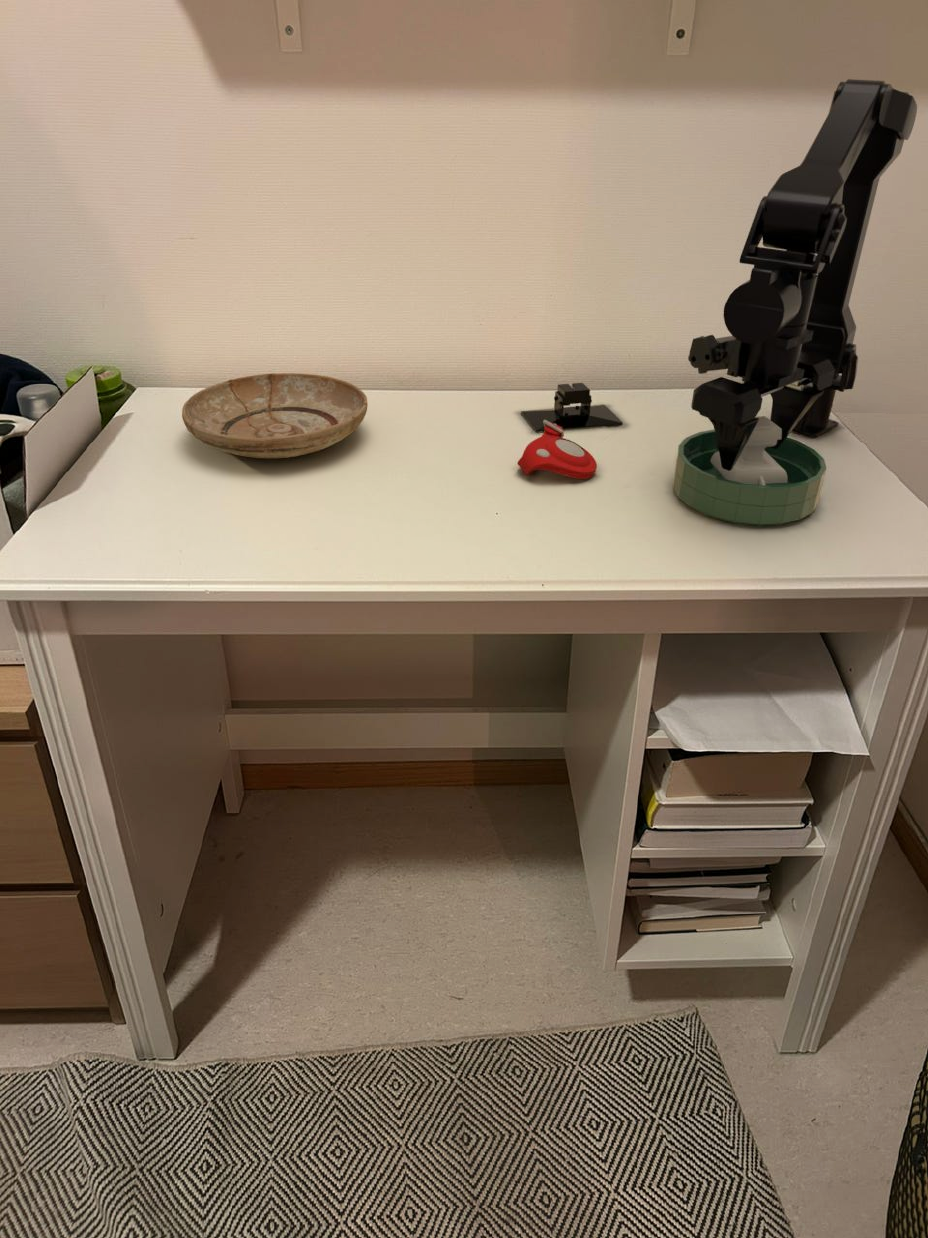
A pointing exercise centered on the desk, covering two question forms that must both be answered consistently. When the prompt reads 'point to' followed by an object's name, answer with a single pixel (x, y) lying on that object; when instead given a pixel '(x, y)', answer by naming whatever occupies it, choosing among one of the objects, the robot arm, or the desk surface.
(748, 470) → the stamp
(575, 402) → the build plate
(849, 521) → the desk surface
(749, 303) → the robot arm
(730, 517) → the green bowl
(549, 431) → the tracker holder
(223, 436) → the ceramic bowl
